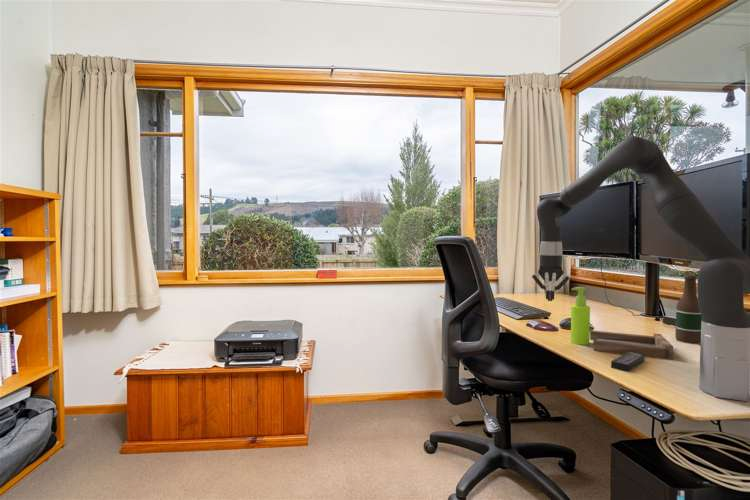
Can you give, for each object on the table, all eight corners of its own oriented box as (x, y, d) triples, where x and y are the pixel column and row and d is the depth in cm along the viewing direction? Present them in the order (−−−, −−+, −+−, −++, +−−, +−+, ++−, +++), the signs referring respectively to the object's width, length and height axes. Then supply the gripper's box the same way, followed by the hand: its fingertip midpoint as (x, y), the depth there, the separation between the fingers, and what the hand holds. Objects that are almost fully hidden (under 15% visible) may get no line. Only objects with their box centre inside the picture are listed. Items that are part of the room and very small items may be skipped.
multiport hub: (610, 368, 112) (610, 361, 112) (628, 358, 121) (628, 351, 121) (627, 373, 108) (627, 365, 108) (644, 362, 117) (645, 354, 117)
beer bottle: (707, 344, 134) (710, 276, 133) (682, 343, 135) (684, 276, 134) (693, 338, 141) (696, 274, 140) (670, 337, 143) (672, 273, 142)
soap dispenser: (565, 341, 138) (566, 286, 137) (578, 339, 141) (579, 285, 140) (579, 346, 133) (581, 289, 132) (592, 343, 135) (594, 287, 135)
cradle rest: (672, 359, 119) (673, 346, 118) (593, 350, 128) (593, 338, 128) (660, 345, 133) (660, 334, 133) (589, 338, 142) (590, 327, 142)
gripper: (530, 254, 139) (530, 301, 140) (571, 254, 133) (570, 303, 134) (531, 253, 146) (531, 298, 146) (570, 253, 140) (569, 300, 141)
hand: (550, 300), depth 140 cm, fingers closed
